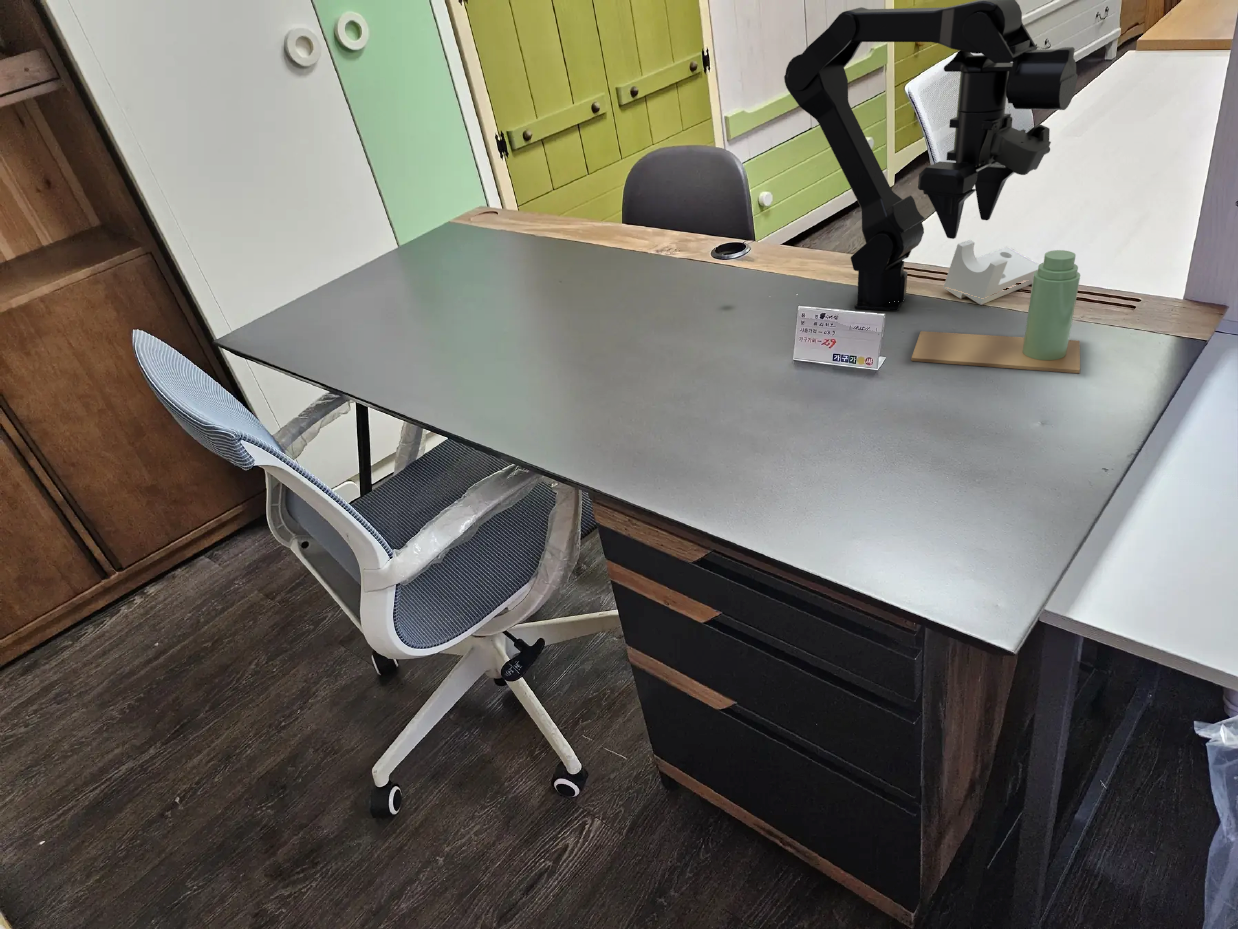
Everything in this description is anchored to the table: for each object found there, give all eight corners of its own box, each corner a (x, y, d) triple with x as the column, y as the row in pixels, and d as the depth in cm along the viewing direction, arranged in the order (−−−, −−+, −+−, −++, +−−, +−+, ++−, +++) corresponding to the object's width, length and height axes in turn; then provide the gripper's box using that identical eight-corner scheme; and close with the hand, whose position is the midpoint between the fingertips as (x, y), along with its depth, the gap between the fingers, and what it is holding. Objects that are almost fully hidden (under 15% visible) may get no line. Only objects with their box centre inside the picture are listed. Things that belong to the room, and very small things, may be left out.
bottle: (1021, 358, 109) (1035, 260, 102) (1023, 342, 113) (1037, 247, 106) (1066, 362, 107) (1084, 262, 100) (1066, 345, 111) (1083, 248, 104)
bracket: (978, 310, 127) (995, 265, 121) (943, 287, 131) (957, 243, 126) (1035, 286, 132) (1054, 243, 126) (999, 265, 136) (1015, 222, 131)
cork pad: (911, 361, 113) (911, 357, 113) (920, 334, 120) (920, 330, 119) (1079, 373, 105) (1080, 369, 105) (1079, 344, 112) (1079, 340, 111)
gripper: (1007, 126, 98) (992, 257, 106) (1077, 95, 108) (1058, 217, 116) (920, 122, 105) (911, 245, 113) (993, 93, 115) (980, 208, 123)
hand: (968, 228), depth 116 cm, fingers open, 9 cm apart
